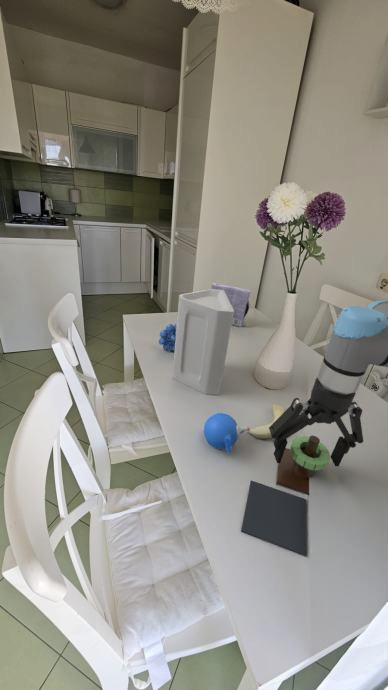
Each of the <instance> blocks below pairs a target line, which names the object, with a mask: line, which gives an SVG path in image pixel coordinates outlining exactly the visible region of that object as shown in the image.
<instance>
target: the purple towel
mask: <svg viewBox="0 0 388 690" xmlns="http://www.w3.org/2000/svg"><path fill="white" fill-rule="evenodd" d="M210 289H216V290H224V291H225V293H226V296H227V298H228V300H229V302H230V304H231V306H232V308H233V310H234V314H233V320H232V325H231V326H233V327H239V328H243V326H244V324H245V319H246V316H247V314H248V313H249V310H250V296H251V289H246V288H241V287H236V286H233V285H227V284H223V283H217V282H213V283H211V287H210Z"/></svg>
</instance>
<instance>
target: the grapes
mask: <svg viewBox="0 0 388 690" xmlns="http://www.w3.org/2000/svg"><path fill="white" fill-rule="evenodd" d="M176 328H177V322H176V323H175V324H172V323H168V324H167V325H166V327H165V329H162V330H161V331H160V332H159V336H160V338H159V339H158V344H159V345H161V346H162V349H163V350H164V351H168V350H170V351H171V352H175V340H176Z"/></svg>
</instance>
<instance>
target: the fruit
mask: <svg viewBox="0 0 388 690" xmlns="http://www.w3.org/2000/svg"><path fill="white" fill-rule="evenodd" d="M285 411H286V410H285V408H284V407H283V406H282V405H281V404H278V403H274V404H273V406H272V413H273V421H272V422H270V423H269V424H265V425H262V426H255V427H253V428H250V430H249V431H247V433H249V434H250V435H252V436H253V437H254V438H256V439H262V440H265V439H271V438H272V436H271V433H270V430H269V427H270V426H271V425H272V424H273V423H274V422H275V421H276V420H277V419H278V418H279V417H280V416H281V415H282V414H283V413H284V412H285Z"/></svg>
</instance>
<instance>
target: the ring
mask: <svg viewBox="0 0 388 690" xmlns="http://www.w3.org/2000/svg"><path fill="white" fill-rule="evenodd" d="M309 437H310V436H306V435H299V436H296V437H294V439H293V440H292V441H291V443H290V445H289V449H290V454H291V456H292V457H293V459H294V460H295V461H296V462H297V463H298V464H300V465H301V466H302V467H303V466H304V468H307V469H310V470H313V469H314V471H316V472H317V471H322V470H324V469H325V468H326V467H327V466H328V464H329V462H330V460H331V457H330V456H331V454H330V450H329V449H328V448H327V447H326V445H325V444H324V443H322V442H321V441H320V442H319V445H318V447H317V450H316V453H317V454H318V456H319V458H312V457H308V456H307V455H305V454H304V453H303V452H302V451H301V449H300V448H302V447H306V445H307V443H308V440H309Z"/></svg>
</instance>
